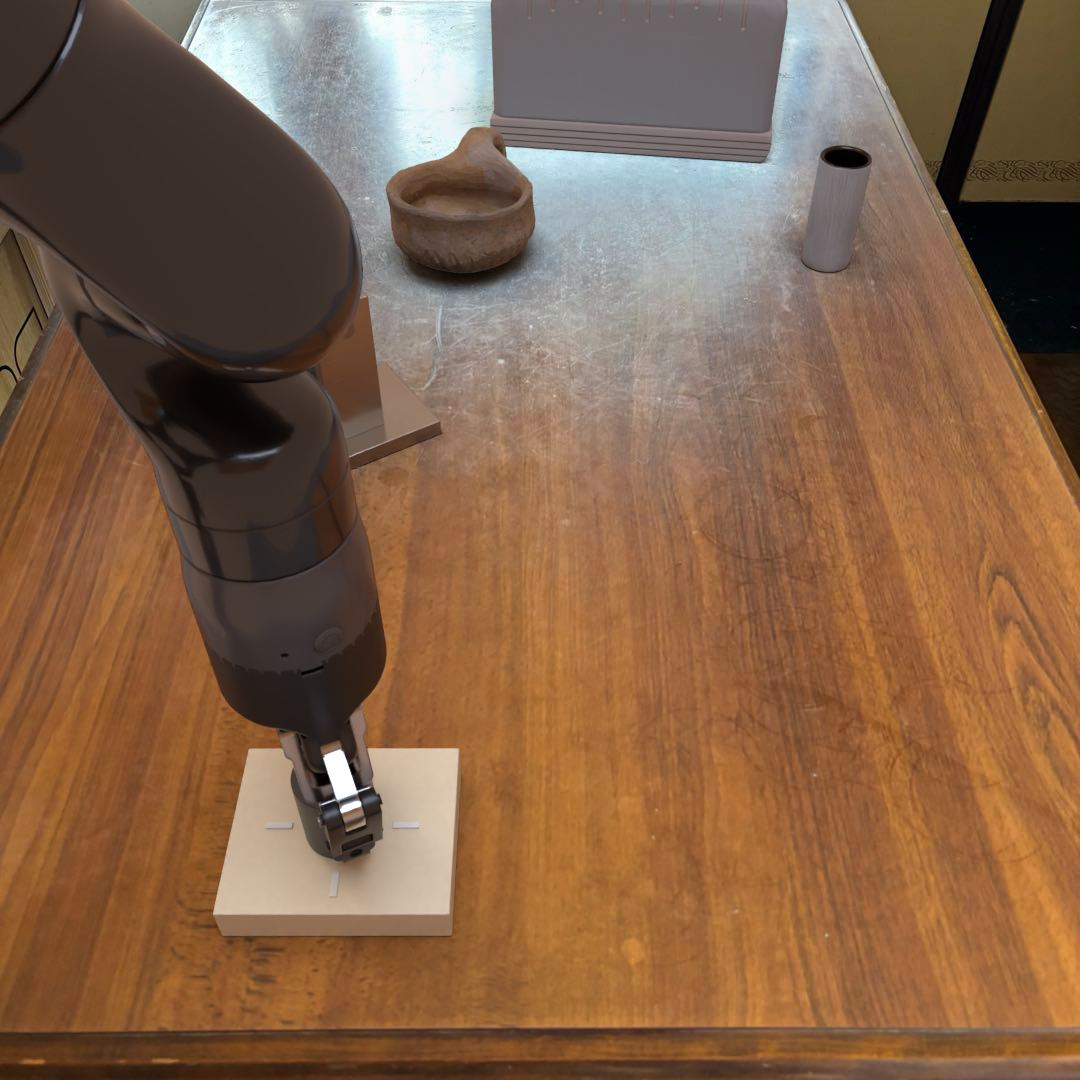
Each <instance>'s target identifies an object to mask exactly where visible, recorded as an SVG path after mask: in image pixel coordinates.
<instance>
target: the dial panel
mask: <svg viewBox="0 0 1080 1080" xmlns="http://www.w3.org/2000/svg"><path fill="white" fill-rule="evenodd" d="M367 749H368V753H369V757H370V761H371V765H372V769H373V773H374V776H373V779H372V780H373V785H374V789H375V791H376V794H378V793H379V794H380V796H381V799H382V803H383V804H382V805H380V806H381V810H382V827H383V839H382V840H379V841H376V842H375V846H374V848H372V849H371V850H370V853H369V854H367V855H364V856H362V857H359V858H356V859H354V860H351V861H348V862H346V863H344V862H343V861H335V860H334V859H331V858H327V857H324V856H322V855H320V854H318V853H317V852H315V851H314V850H313V849H312V848H311V846H310V845H309V843H308V841H307V839H306V835H305V832H304V829H303V825H302V822H301V818H300V815H299V812H298V808H297V805H296V801H295V798H294V795H293V791H292V788H291V782H290V779H291V772H292V769H293V763H292V761H291V760H289V759H287V758H286V757H285V755H284V752H283V749H282V747H281V748H279V747H278V748H277V747H275V748H270V747H269V748H248V750H247V755H246V760H245V766H244V770H243V774H242V778H241V783H240V787H239V792H238V796H237V800H236V805H235V809H234V815H233V819H232V824H231V829H230V833H229V837H228V842H227V846H226V852H225V856H224V861H223V864H222V865H223V866H222V870H221V874H220V878H219V882H218V883H219V884H218V889H217V893H216V897H215V901H214V905H213V906H214V907H213V911H212V916H213V918H214V920H215V923H216V925H217V927H218V930H219V931H220V934H221V936H222V937H451V936H453V926H454V911H455V910H454V909H455V891H456V890H455V889H456V873H457V856H458V841H459V840H458V839H459V821H460V806H461V805H460V804H461V803H460V802H461V788H462V787H461V785H462V765H461V753H460V748H458V747H436V748H435V747H432V748H431V747H426V748H425V747H421V748H420V747H417V748H416V747H413V748H412V747H411V748H409V747H407V748H406V747H402V748H401V747H399V748H398V747H397V748H396V747H393V748H390V747H389V748H388V747H386V748H385V747H383V748H381V747H380V748H378V747H377V748H375V747H374V748H373V747H371V748H370V747H367Z"/></svg>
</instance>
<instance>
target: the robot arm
mask: <svg viewBox="0 0 1080 1080" xmlns="http://www.w3.org/2000/svg"><path fill="white" fill-rule="evenodd" d="M350 212H351V211H350V210H349V207H348V206H347V204H346V202H345V200H344V198H343V196H342V195H341V193H340V191H339V189H338V188H337V186H336V184H335V183H334V182H333V181H332V179H331V178H330V177H329V175H328V174H327V173H326V172H325V170H324V169H323V168H322V167H321V166H320V164H319V163H318V162H317V161H316V160H315V158H313V157H312V156H311V155H310V153H309V152H308V151H306V150H305V148H303V147H302V146H301V144H299V143H298V142H297V141H296V140H295V138H293V137H292V136H291V135H289V133H287V132H286V130H284V129H283V128H282V127H281V126H280V125H278V123H276V122H275V121H274V120H273V119H272V118H270V117H269V116H268V115H267V114H266V113H265V112H263V111H262V110H261V109H260V108H258V107H257V105H255V104H254V103H253V102H251V101H250V100H249V99H248V98H246V97H245V96H244V95H243V94H242V93H241V92H240V91H238V90H237V88H235V87H233V86H232V85H231V84H230V83H229V82H228V81H226V79H224V78H223V77H222V76H221V75H219V74H218V73H217V72H215V70H213V69H212V68H211V67H209V66H208V65H207V64H206V63H205V62H203V61H202V60H201V59H200V58H199V57H197V56H196V55H195V54H193V53H192V52H191V51H190V50H188V49H187V48H186V47H184V46H183V45H181V44H180V43H179V42H178V41H176V40H175V39H174V38H172V37H171V36H170V35H168V34H167V33H166V32H165V31H163V30H162V29H161V28H160V27H158V26H157V25H156V24H154V23H153V22H152V21H151V20H149V18H148V17H146V16H145V15H144V14H142V12H140V11H139V10H138V9H137V8H136V7H134V6H133V5H132V4H131V3H129V1H127V0H0V224H1V225H3V226H6V227H7V228H9V229H11V230H12V231H14V232H16V233H17V234H20V235H21V236H23V237H25V238H26V239H28V240H30V241H31V242H33V243H34V244H36V248H37V253H38V256H39V260H40V264H41V268H42V271H43V274H44V277H45V280H46V282H47V286H48V288H49V290H50V292H51V295H52V297H53V299H54V301H55V304H56V305H57V307H58V310H59V312H60V314H61V315H62V317H63V320H64V321H65V324H66V325H67V327H68V329H69V331H70V332H71V334H72V336H73V338H74V339H75V341H76V343H77V344H78V346H79V348H80V350H81V351H82V353H83V354H84V357H85V358H86V359H87V361H88V363H89V364H90V366H91V368H92V370H93V372H94V373H95V374H96V376H97V378H98V380H99V381H100V383H101V384H102V386H103V388H104V390H105V392H106V393H107V395H108V397H109V399H110V400H111V401H112V403H113V405H114V407H115V408H116V409H117V411H118V412H119V414H120V415H121V417H122V418H123V420H124V421H125V422H126V424H127V425H128V426H129V428H130V430H131V431H132V433H134V435H135V437H136V438H137V439H138V441H139V443H140V445H141V446H142V448H143V450H144V451H145V453H146V455H147V457H148V459H149V460H150V463H151V466H152V469H153V473H154V476H155V480H156V484H157V488H158V492H159V495H160V498H161V501H162V504H163V506H164V509H165V512H166V516H167V519H168V522H169V524H170V527H171V531H172V533H173V537H174V538H175V542H176V545H177V550H178V552H179V561H180V568H181V574H182V580H183V585H184V588H185V592H186V595H187V599H188V601H189V605H190V607H191V610H192V613H193V616H194V619H195V622H196V624H197V627H198V630H199V633H200V637H201V639H202V642H203V645H204V648H205V651H206V653H207V656H208V659H209V662H210V664H211V668H212V672H213V673H214V676H215V680H216V683H217V686H218V688H219V691H220V693H221V695H222V697H223V699H224V700H225V702H226V703H227V704H228V705H229V707H231V709H232V710H234V712H236V713H237V714H238V715H239V716H241V717H243V718H244V719H245V720H247V721H248V722H251V723H253V724H256V725H259V726H261V727H265V728H269V729H274V730H276V732H277V736H278V739H279V742H280V746H281V748H282V749H283V752H284V755H285V757H286V758H287V759H289V760H291V761H292V763H293V767H294V770H295V773H296V777H297V780H298V783H299V786H300V789H301V792H302V796H303V798H304V800H305V801H306V802H308V803H314V804H316V806H317V810H318V813H319V817H317V820H318V823H319V827H321V826H323V829H324V832H325V833H326V836H327V841H325V844H326V847H327V850H328V851H330V850H331V852H332V855H333V858H334V860H335V861H343V862H344V863H346V862H348V861H351V860H354V859H356V858H359V857H362V856H364V855H367V854H369V853H370V850H371V849H372V848H374V846H375V842H376V841H379V840H382V839H383V827H382V810H381V806H380V805H382V804H383V803H382V799H381V796H380V794H379V793H378V794H376V791H375V789H374V787H372V786H371V785H370V784H368V783H369V782H371V780H372V779H373V776H374V773H373V769H372V765H371V761H370V757H369V753H368V749H367V748H368V746H367V741H366V737H365V736H366V734H367V732H368V730H369V729H368V728H369V727H368V723H367V719H366V716H365V715H366V714H365V711H364V709H363V708H364V707H363V705H362V704H363V703H364V702H365V701H366V700H367V699H368V697H370V695H371V694H372V692H373V691H374V690H375V689H376V687H377V686H378V684H379V683H380V680H381V678H382V676H383V674H384V671H385V667H386V662H387V655H388V650H387V649H388V647H387V641H386V634H385V628H384V623H383V616H382V610H381V603H380V597H379V592H378V584H377V580H376V579H377V578H376V574H375V566H374V561H373V555H372V550H371V549H372V548H371V545H370V539H369V536H368V533H367V529H366V526H365V524H364V522H363V519H362V516H361V514H360V511H359V508H358V503H357V497H356V490H355V484H354V480H353V479H354V478H353V472H352V470H351V466H350V460H349V454H348V449H347V444H346V439H345V434H344V430H343V425H342V421H341V418H340V415H339V412H338V409H337V407H336V405H335V403H334V401H333V399H332V398H331V396H330V395H329V393H328V392H327V390H326V389H325V388H324V386H323V385H322V384H321V383H320V382H319V381H318V380H317V379H316V378H315V377H314V376H312V375H311V374H310V373H309V372H307V370H309V369H310V368H312V367H314V366H315V365H317V364H318V363H319V362H321V361H322V360H323V359H325V358H326V357H327V356H328V355H329V354H330V353H331V352H332V351H333V350H334V349H335V347H336V346H337V345H338V344H339V343H340V341H341V340H342V339H343V337H344V336H345V334H346V332H347V331H348V329H349V327H350V325H351V323H352V321H353V319H354V316H355V314H356V311H357V308H358V304H359V301H360V296H361V291H362V290H363V281H364V280H363V279H364V277H363V276H364V267H363V266H364V265H363V255H362V248H361V243H360V238H359V234H358V231H357V227H356V224H355V222H354V219H353V217H352V215H351V213H350ZM303 754H304V757H305V760H306V763H307V765H308V767H309V768H310V769H311V770H312V771H314V772H312V771H308V770H307V769H306V766H305V762H304V759H303V756H302V755H303ZM367 784H368V785H367ZM332 795H334V797H332V798H329V797H330V796H332ZM328 798H329V799H328Z"/></svg>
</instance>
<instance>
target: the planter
mask: <svg viewBox="0 0 1080 1080" xmlns="http://www.w3.org/2000/svg"><path fill="white" fill-rule="evenodd" d="M872 164H873V158H872V155H871V154H870V153H869V152H868V151H866V150H864V149H862V148H861V147H860V148H859V147H857V146H852V145H846V144H845V145H832V146H828V147H826V148H825V149H823V150H822V151H821V152H820V154H819V157H818V163H817V168H816V175H815V179H814V184H813V190H812V196H811V199H810V206H809V212H808V217H807V222H806V227H805V233H804V238H803V242H802V243H803V244H802V249H801V256H800V258H801V261H802V263H803V264H804V265H806V266H807V267H808V268H809V269H812V270H815V271H818V272H824V273H835V272H839V271H842V270H844V269H846V268H848V266H849V264H850V261H851V258H852V253H853V249H854V244H855V242H856V241H855V240H856V236H857V231H858V226H859V222H860V218H861V213H862V210H863V205H864V201H865V197H866V196H865V195H866V191H867V188H868V182H869V179H870V174H871V169H872V166H873V165H872Z"/></svg>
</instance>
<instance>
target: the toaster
mask: <svg viewBox="0 0 1080 1080" xmlns="http://www.w3.org/2000/svg"><path fill="white" fill-rule="evenodd" d="M788 2H789V1H788V0H490V26H491V27H490V29H491V32H490V33H491V58H492V59H491V61H492V62H491V63H492V91H493V95H492V96H493V112H492V114H491V115H490V119H489V121H490V122H489V128H493V129H495V130H497V131H498V132H499V133H500V134H501V136H502V137H503V140H504V143H505V147H506V146H508V147H524V148H539V149H553V150H566V151H567V150H570V151H583V152H584V151H585V152H599V153H600V152H601V153H611V154H612V153H614V154H627V155H643V156H644V155H645V156H659V157H675V158H687V159H688V158H690V159H692V158H693V159H704V160H705V159H706V160H719V161H734V162H751V163H752V162H753V163H762V162H764V160H765V159H766V158H767V156H768V155H769V153H770V151H771V147H772V141H773V114H774V107H775V101H776V94H777V87H778V80H779V74H780V68H781V61H782V54H783V49H784V48H783V47H784V41H785V35H786V34H785V32H786V28H787V21H788V14H789V12H788Z"/></svg>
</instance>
